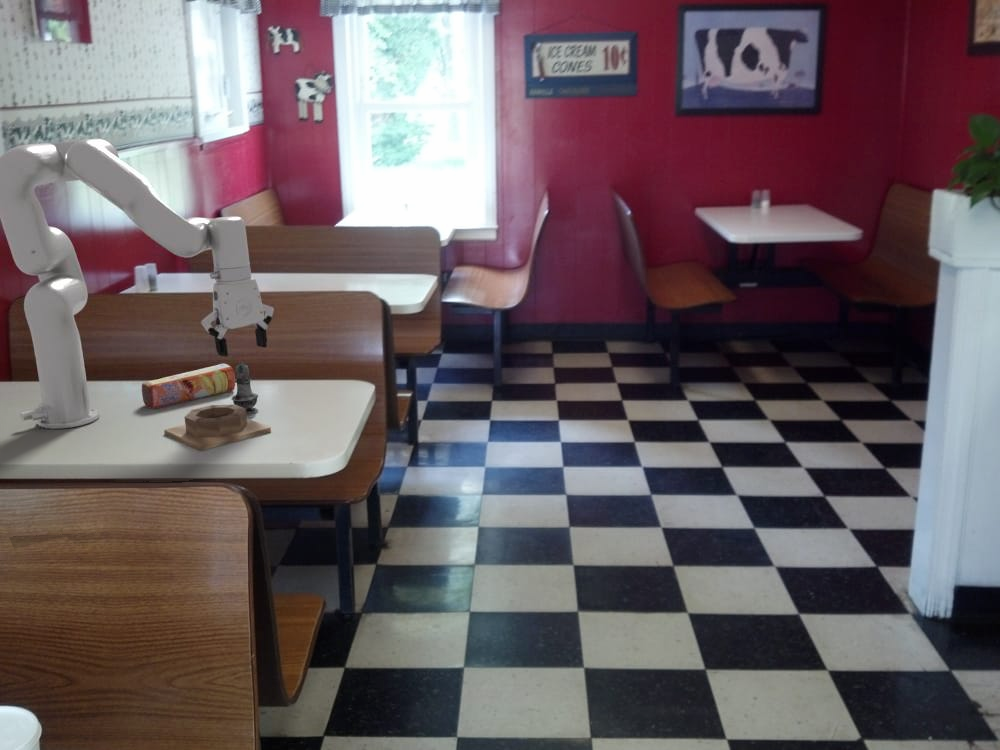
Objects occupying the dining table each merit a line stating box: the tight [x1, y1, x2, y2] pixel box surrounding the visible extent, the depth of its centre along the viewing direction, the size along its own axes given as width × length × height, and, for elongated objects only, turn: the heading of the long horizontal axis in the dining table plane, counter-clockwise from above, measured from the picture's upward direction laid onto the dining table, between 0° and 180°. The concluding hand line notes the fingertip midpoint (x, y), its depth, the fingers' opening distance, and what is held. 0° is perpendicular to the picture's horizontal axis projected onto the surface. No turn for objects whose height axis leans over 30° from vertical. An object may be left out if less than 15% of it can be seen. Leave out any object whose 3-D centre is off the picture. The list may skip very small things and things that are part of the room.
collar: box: [163, 403, 272, 452], centre depth 214 cm, size 16×16×4 cm
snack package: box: [141, 363, 236, 410], centre depth 240 cm, size 21×7×7 cm, turn 132°
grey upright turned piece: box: [231, 360, 259, 416], centre depth 227 cm, size 6×6×12 cm
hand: (242, 351), depth 225 cm, fingers open, 9 cm apart
